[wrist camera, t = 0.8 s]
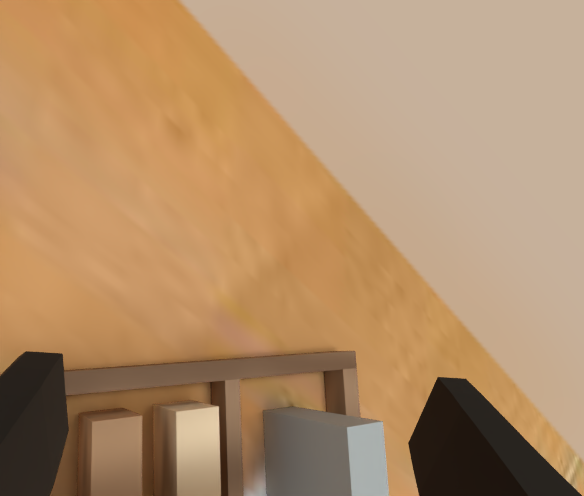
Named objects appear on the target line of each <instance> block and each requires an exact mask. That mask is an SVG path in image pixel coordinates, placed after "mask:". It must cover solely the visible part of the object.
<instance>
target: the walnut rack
mask: <svg viewBox="0 0 584 496" xmlns="http://www.w3.org/2000/svg"><path fill="white" fill-rule="evenodd" d="M320 371H324V377H325V392H326V408H327V412H329V413H335V414H341V415H348V416H354V417H360V405H359V392H358V379H357V366H356V354H355V351H333V352H319V353H305V354H291V355H277V356H263V357H249V358H235V359H221V360H206V361H192V362H178V363H164V364H150V365H136V366H122V367H108V368H94V369H80V370H66V371H64V379H65V392H66V395H77V394H87V393H98V392H108V391H119V390H130V389H140V388H151V387H161V386H172V385H183V384H193V383H204V382H211V405H215V406H219V435H220V474H221V496H243V467H242V437H241V407H240V379H246V378H257V377H267V376H278V375H288V374H299V373H310V372H320Z"/></svg>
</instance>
